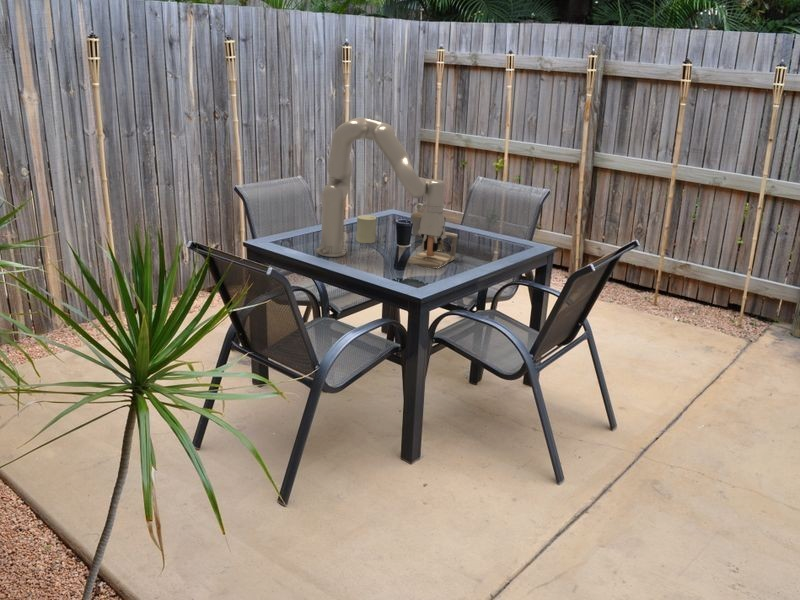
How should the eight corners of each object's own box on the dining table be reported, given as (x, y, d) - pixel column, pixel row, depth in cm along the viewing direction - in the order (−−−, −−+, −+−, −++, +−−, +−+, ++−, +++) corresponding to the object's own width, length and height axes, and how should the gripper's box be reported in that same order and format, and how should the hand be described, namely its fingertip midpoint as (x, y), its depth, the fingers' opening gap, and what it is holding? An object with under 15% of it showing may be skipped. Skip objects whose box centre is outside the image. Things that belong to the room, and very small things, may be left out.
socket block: (437, 269, 313) (440, 242, 309) (408, 262, 319) (410, 236, 315) (455, 260, 328) (457, 234, 324) (427, 254, 334) (429, 228, 330)
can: (374, 244, 344) (376, 219, 340) (355, 242, 344) (356, 217, 340) (375, 239, 352) (377, 214, 349) (356, 237, 352) (357, 213, 348)
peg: (432, 256, 317) (433, 238, 315) (425, 255, 319) (426, 237, 316) (435, 255, 320) (437, 237, 318) (428, 253, 322) (430, 236, 319)
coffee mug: (408, 231, 372) (410, 211, 369) (428, 232, 373) (429, 213, 370) (410, 237, 360) (411, 218, 356) (430, 239, 360) (432, 219, 357)
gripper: (412, 207, 313) (410, 248, 319) (447, 213, 306) (444, 255, 312) (420, 204, 319) (417, 245, 326) (455, 210, 312) (451, 252, 318)
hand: (430, 249), depth 319 cm, fingers closed on peg, 3 cm apart
